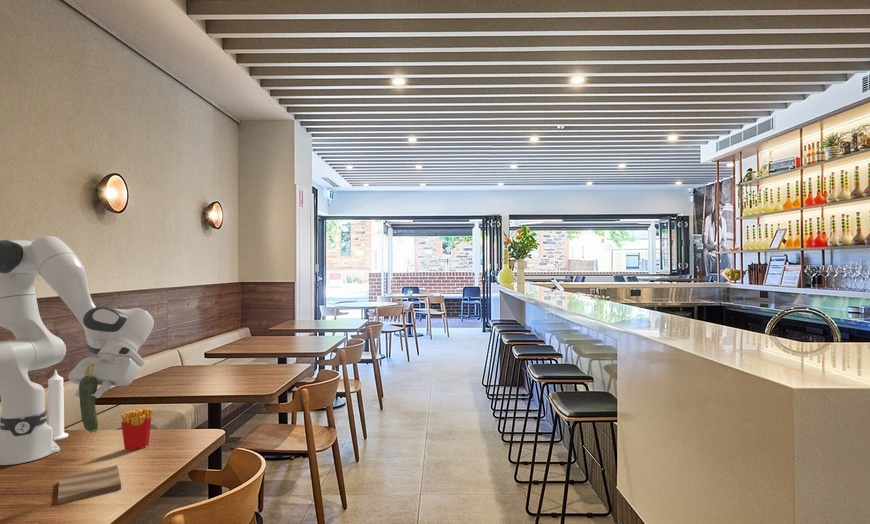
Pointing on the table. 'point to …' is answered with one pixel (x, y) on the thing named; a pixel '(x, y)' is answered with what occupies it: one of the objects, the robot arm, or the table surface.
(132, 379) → the robot arm
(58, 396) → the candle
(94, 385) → the vegetable
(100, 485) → the cutting board
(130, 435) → the french fries
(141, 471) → the table surface
